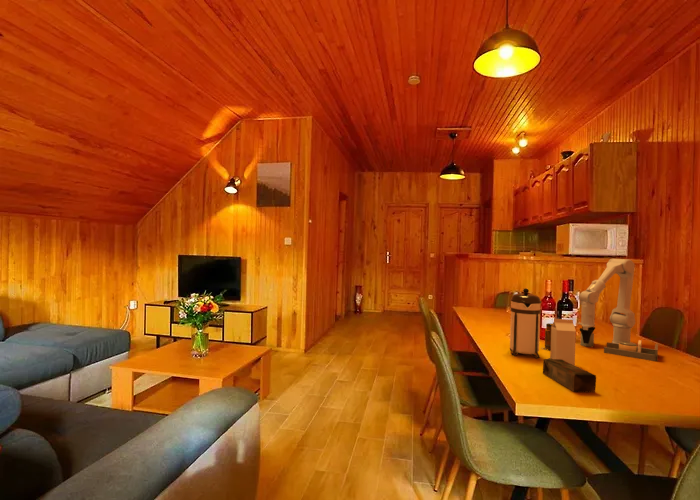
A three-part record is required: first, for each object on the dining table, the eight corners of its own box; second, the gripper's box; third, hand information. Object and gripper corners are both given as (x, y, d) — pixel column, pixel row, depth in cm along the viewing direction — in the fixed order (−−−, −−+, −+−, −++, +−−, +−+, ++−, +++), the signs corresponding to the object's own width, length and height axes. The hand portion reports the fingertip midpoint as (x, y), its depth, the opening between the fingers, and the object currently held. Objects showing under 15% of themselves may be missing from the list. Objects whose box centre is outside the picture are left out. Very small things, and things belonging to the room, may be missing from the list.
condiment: (547, 346, 185) (548, 322, 185) (566, 350, 179) (566, 325, 179) (540, 348, 181) (541, 324, 181) (559, 352, 174) (560, 327, 174)
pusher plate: (638, 352, 178) (638, 339, 178) (641, 352, 177) (641, 340, 177) (637, 356, 170) (637, 344, 170) (640, 357, 169) (640, 344, 169)
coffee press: (552, 357, 167) (554, 289, 166) (524, 360, 161) (526, 290, 160) (521, 347, 183) (522, 285, 182) (495, 349, 177) (497, 286, 176)
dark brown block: (561, 374, 145) (562, 357, 145) (597, 393, 126) (597, 374, 126) (541, 373, 145) (542, 356, 145) (574, 393, 126) (575, 374, 126)
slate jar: (581, 343, 193) (581, 329, 193) (594, 345, 189) (594, 331, 189) (579, 345, 189) (580, 331, 189) (592, 347, 185) (593, 333, 185)
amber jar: (619, 350, 181) (619, 340, 181) (636, 353, 177) (637, 343, 176) (617, 353, 176) (618, 343, 176) (636, 356, 171) (636, 345, 171)
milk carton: (574, 368, 152) (576, 321, 152) (555, 366, 154) (557, 320, 153) (568, 362, 159) (569, 318, 159) (550, 361, 160) (551, 317, 160)
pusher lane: (606, 347, 187) (607, 337, 187) (657, 355, 174) (657, 344, 174) (603, 352, 177) (604, 341, 177) (657, 361, 164) (657, 350, 164)
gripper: (581, 312, 197) (580, 338, 197) (576, 315, 186) (575, 343, 186) (597, 314, 192) (596, 340, 193) (593, 317, 181) (592, 345, 181)
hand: (587, 342), depth 189 cm, fingers closed on slate jar, 6 cm apart
